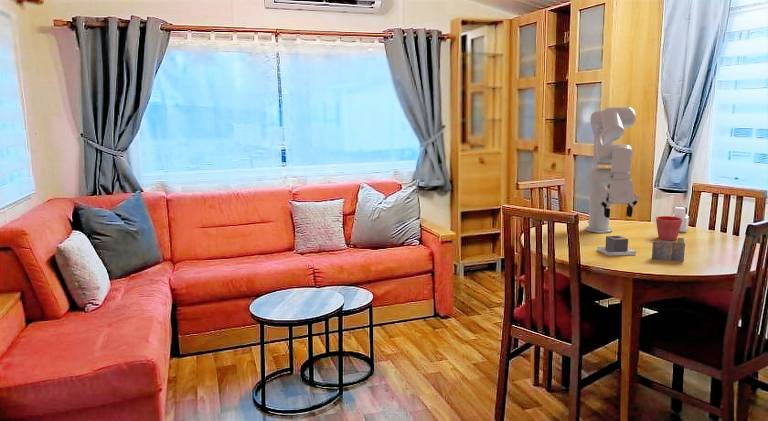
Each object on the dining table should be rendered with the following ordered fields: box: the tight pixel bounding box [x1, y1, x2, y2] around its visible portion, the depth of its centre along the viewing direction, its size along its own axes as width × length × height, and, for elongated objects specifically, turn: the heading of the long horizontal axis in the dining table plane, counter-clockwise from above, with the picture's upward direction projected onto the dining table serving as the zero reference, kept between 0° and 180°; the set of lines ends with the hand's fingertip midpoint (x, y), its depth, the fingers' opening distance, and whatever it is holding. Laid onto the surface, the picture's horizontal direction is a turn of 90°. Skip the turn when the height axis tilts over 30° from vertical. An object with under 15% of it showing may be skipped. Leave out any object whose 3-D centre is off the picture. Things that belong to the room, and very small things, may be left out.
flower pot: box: [655, 215, 682, 241], centre depth 267 cm, size 11×11×10 cm
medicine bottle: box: [671, 205, 690, 233], centre depth 284 cm, size 7×7×12 cm
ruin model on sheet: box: [651, 237, 686, 262], centre depth 230 cm, size 11×3×10 cm, turn 72°
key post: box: [596, 238, 637, 257], centre depth 242 cm, size 10×12×6 cm
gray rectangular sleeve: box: [605, 235, 629, 251], centre depth 242 cm, size 7×6×5 cm
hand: (617, 216), depth 240 cm, fingers open, 9 cm apart
